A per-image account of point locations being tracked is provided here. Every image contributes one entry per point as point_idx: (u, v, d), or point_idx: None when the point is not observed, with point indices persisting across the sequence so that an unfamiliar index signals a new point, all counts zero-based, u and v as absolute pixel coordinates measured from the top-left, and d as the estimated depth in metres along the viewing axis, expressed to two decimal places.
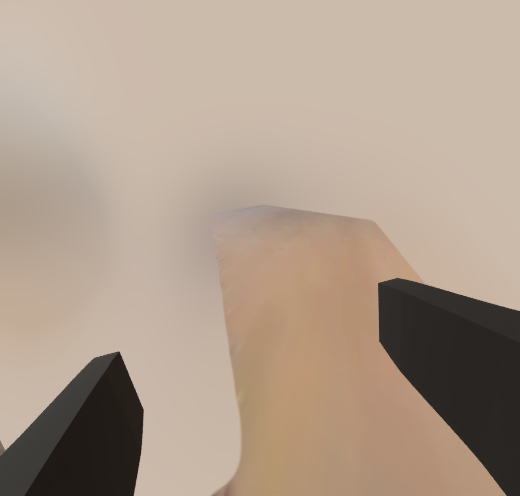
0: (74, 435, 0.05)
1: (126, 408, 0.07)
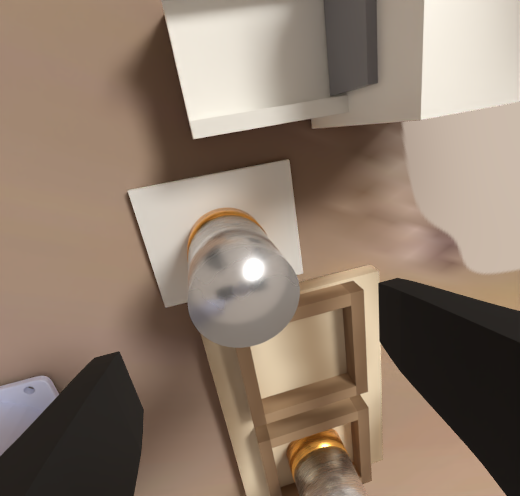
0: (74, 435, 0.05)
1: (126, 408, 0.07)
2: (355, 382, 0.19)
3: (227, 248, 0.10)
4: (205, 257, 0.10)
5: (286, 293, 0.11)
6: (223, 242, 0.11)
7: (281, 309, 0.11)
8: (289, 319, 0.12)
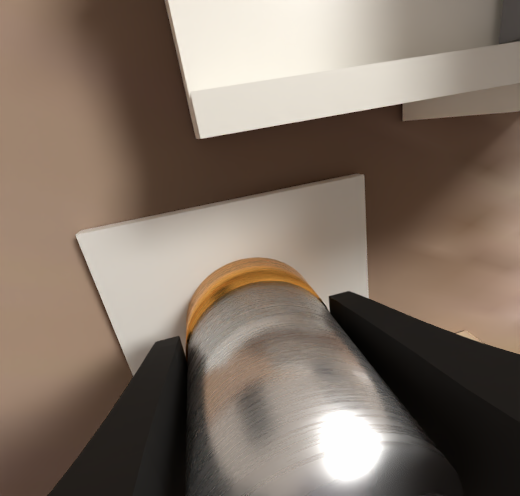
0: (163, 409, 0.05)
1: None
2: None
3: (299, 454, 0.04)
4: (234, 463, 0.04)
5: None
6: (275, 401, 0.04)
7: None
8: None
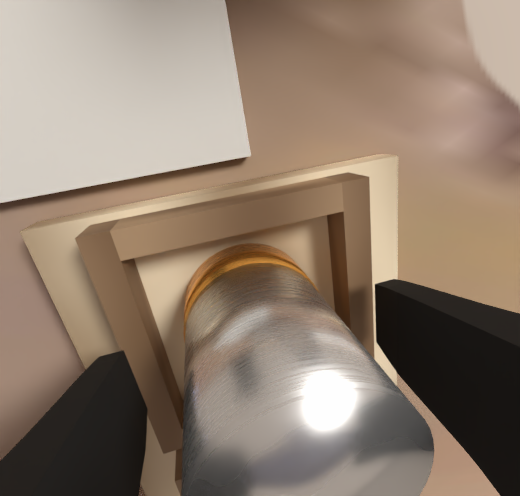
0: (81, 433, 0.05)
1: (130, 407, 0.07)
2: None
3: (274, 400, 0.04)
4: (219, 414, 0.04)
5: (404, 467, 0.05)
6: (256, 361, 0.05)
7: None
8: None
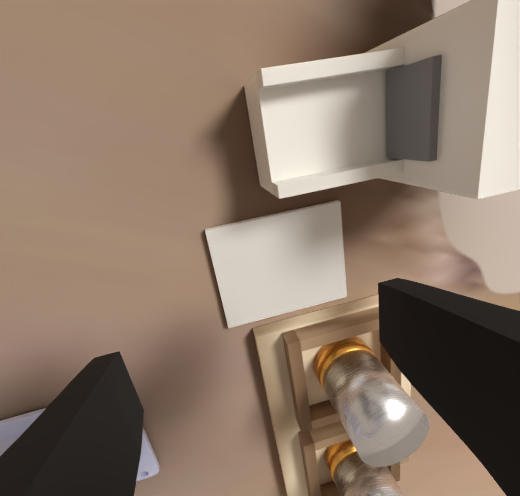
0: (75, 434, 0.05)
1: (126, 408, 0.07)
2: None
3: (386, 410, 0.15)
4: (368, 414, 0.15)
5: (419, 430, 0.16)
6: (375, 398, 0.16)
7: (415, 440, 0.16)
8: (419, 444, 0.16)
